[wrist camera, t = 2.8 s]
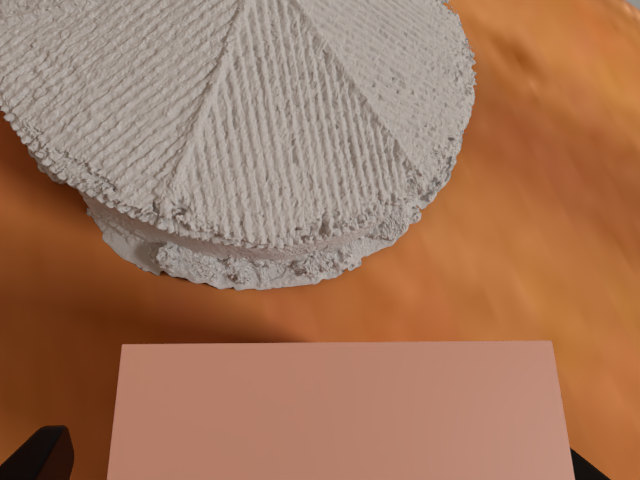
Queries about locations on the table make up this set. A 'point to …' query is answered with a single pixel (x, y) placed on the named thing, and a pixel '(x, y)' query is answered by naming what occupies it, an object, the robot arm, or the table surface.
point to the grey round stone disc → (241, 125)
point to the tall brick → (340, 412)
